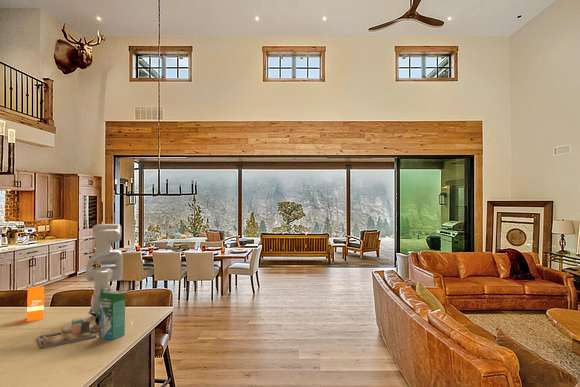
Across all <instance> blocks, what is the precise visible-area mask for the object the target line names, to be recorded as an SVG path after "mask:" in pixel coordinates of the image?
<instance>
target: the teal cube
mask: <svg viewBox="0 0 580 387" xmlns="http://www.w3.org/2000/svg"><path fill="white" fill-rule="evenodd" d="M82 322H84V318H83V317H82V318H80V317H79V318H75V319H71V326H72V325H73V324H77V323H80V324H81V329H82Z"/></svg>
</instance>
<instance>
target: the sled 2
mask: <svg viewBox="0 0 580 387" xmlns="http://www.w3.org/2000/svg"><path fill="white" fill-rule="evenodd" d="M98 318H99V322H98V324H96V323H92V324H89V331H93V333H96V332H99V328H100V315H98ZM81 331H82V329H81ZM60 332H61V335H63V334H69V333H72V327H70V328H64V326H61V327H60Z"/></svg>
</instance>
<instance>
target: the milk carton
mask: <svg viewBox="0 0 580 387" xmlns="http://www.w3.org/2000/svg"><path fill="white" fill-rule="evenodd" d="M125 319H126V293H120V291H119V290H111V293H106V292H100V328H99V331H98V334H99V335H98V336H99V339H103V340H110V341H113V340H116V339H118V338H121V337H122V336H125V333H126V332H125V326H126V324H125V322H126V320H125Z"/></svg>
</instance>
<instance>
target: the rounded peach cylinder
mask: <svg viewBox="0 0 580 387" xmlns="http://www.w3.org/2000/svg"><path fill="white" fill-rule="evenodd" d="M71 328H72V335H79V334H81V324H80V323H77V324H73V325H72V324H71Z"/></svg>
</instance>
